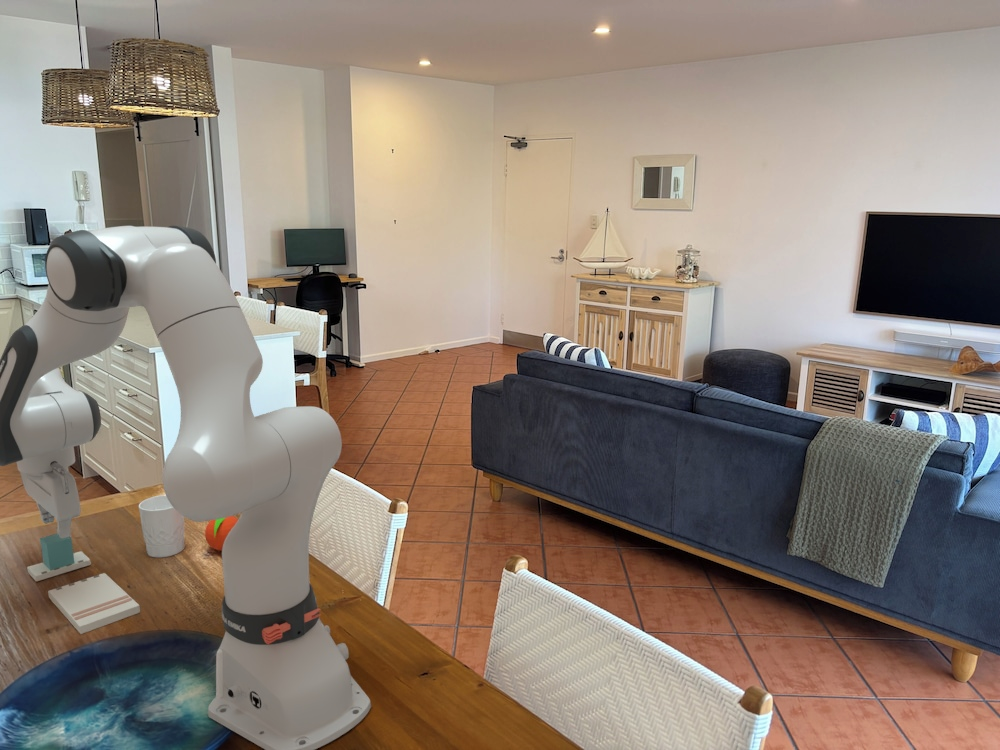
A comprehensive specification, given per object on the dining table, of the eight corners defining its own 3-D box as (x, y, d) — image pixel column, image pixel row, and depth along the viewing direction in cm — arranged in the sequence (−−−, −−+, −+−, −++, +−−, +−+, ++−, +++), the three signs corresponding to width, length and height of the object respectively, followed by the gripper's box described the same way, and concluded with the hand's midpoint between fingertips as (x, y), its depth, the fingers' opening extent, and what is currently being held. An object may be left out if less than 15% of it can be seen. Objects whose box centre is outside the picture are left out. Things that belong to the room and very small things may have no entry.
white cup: (195, 542, 147) (191, 495, 145) (174, 560, 140) (169, 511, 137) (157, 540, 148) (153, 493, 146) (135, 558, 140) (129, 509, 138)
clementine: (234, 559, 140) (232, 524, 139) (198, 559, 140) (195, 524, 139) (248, 541, 148) (246, 508, 146) (214, 540, 148) (211, 507, 146)
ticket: (140, 612, 122) (139, 604, 121) (80, 634, 115) (79, 626, 115) (105, 579, 132) (104, 572, 132) (49, 597, 126) (48, 590, 125)
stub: (90, 564, 137) (87, 534, 136) (36, 581, 131) (31, 550, 129) (81, 555, 140) (78, 526, 139) (27, 572, 134) (23, 541, 133)
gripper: (85, 465, 126) (95, 540, 129) (48, 441, 140) (58, 509, 143) (43, 474, 121) (54, 551, 124) (9, 448, 135) (20, 519, 138)
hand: (56, 529), depth 134 cm, fingers open, 8 cm apart
